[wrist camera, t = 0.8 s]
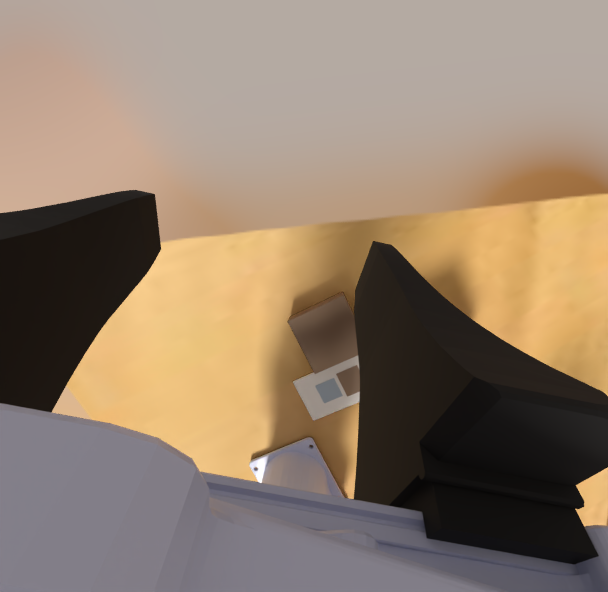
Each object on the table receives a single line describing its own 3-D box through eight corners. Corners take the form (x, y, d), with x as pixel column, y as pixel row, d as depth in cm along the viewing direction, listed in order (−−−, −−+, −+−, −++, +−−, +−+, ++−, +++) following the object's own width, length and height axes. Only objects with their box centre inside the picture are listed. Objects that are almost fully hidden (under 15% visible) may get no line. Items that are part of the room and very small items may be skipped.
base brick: (367, 343, 33) (370, 349, 31) (315, 366, 34) (314, 374, 32) (342, 291, 32) (343, 295, 30) (290, 316, 33) (287, 321, 31)
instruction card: (381, 392, 34) (381, 393, 34) (313, 419, 35) (313, 421, 35) (361, 351, 33) (361, 352, 33) (292, 381, 34) (292, 382, 34)
